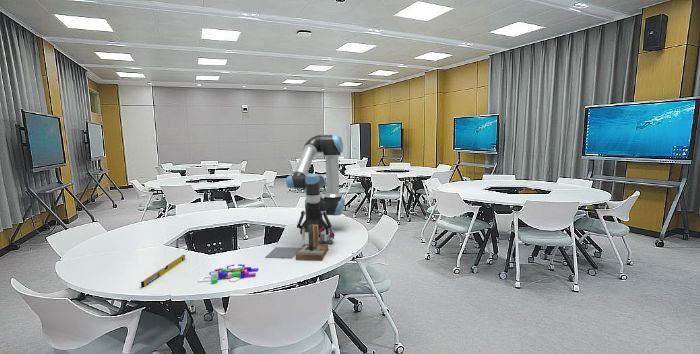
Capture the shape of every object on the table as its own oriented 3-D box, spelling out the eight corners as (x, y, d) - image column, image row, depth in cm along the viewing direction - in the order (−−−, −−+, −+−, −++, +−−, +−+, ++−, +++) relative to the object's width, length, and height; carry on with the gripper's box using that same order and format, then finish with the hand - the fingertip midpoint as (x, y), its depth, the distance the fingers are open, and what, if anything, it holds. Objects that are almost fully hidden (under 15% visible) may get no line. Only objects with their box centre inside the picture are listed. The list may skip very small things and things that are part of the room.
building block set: (260, 265, 173) (259, 256, 172) (254, 282, 153) (253, 272, 152) (209, 268, 170) (208, 259, 169) (196, 286, 149) (195, 276, 149)
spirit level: (182, 260, 181) (182, 254, 181) (185, 260, 181) (184, 254, 181) (141, 288, 148) (140, 281, 148) (144, 288, 148) (143, 281, 148)
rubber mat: (275, 247, 197) (275, 247, 197) (300, 248, 195) (300, 247, 195) (265, 257, 182) (265, 256, 181) (292, 258, 179) (292, 257, 179)
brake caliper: (336, 235, 211) (334, 223, 202) (334, 250, 203) (331, 238, 194) (318, 235, 212) (315, 223, 204) (316, 250, 204) (312, 238, 196)
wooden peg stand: (304, 249, 194) (303, 220, 192) (328, 249, 192) (327, 220, 190) (295, 260, 177) (294, 228, 175) (321, 260, 175) (320, 228, 173)
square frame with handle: (307, 245, 192) (307, 224, 190) (323, 245, 190) (322, 224, 189) (300, 253, 178) (299, 231, 176) (317, 254, 177) (316, 231, 175)
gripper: (290, 203, 184) (291, 241, 187) (333, 203, 181) (334, 242, 184) (294, 200, 192) (295, 237, 194) (336, 200, 188) (337, 238, 191)
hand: (314, 240), depth 189 cm, fingers open, 12 cm apart
